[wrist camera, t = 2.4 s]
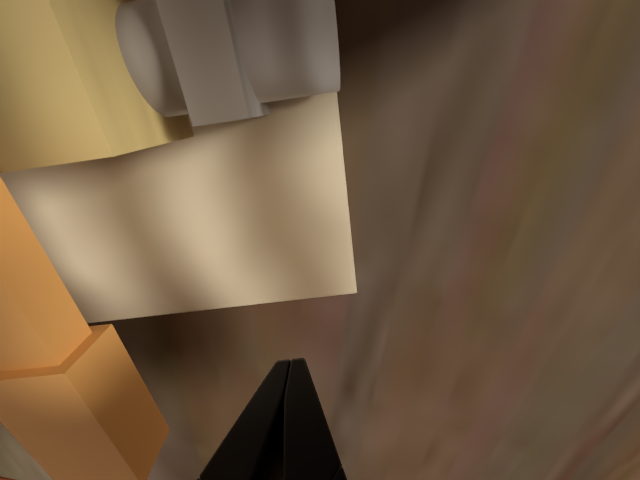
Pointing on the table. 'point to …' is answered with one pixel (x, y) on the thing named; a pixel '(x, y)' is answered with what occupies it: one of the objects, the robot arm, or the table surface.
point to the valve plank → (178, 150)
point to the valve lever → (66, 372)
